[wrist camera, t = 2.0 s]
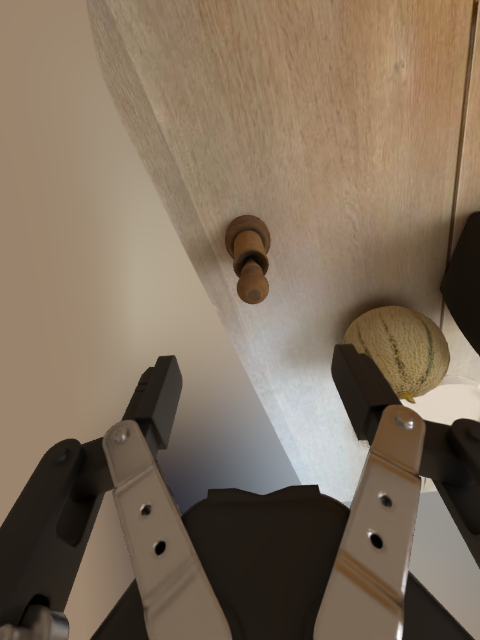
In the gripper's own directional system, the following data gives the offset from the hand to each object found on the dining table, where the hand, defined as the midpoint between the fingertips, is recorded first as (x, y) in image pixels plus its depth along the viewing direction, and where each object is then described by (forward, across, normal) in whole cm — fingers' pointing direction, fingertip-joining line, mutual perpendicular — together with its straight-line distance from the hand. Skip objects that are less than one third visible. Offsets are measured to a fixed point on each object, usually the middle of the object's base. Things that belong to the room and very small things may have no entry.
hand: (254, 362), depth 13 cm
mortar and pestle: (+28, 0, +2) cm, 29 cm away
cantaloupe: (+29, -22, +20) cm, 41 cm away
